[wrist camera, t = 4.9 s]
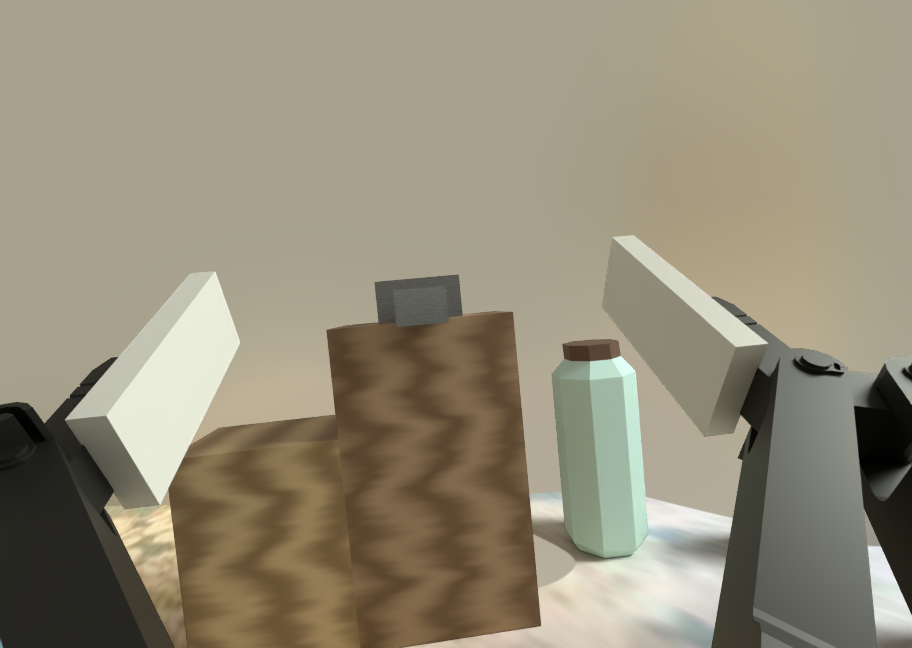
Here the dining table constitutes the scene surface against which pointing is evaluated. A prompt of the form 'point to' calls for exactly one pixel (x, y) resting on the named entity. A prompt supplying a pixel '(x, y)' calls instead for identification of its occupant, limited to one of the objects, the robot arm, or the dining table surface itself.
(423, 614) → the stepped stand
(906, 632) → the dining table surface
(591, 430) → the water bottle
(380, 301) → the grey t-shaped block
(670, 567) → the dining table surface
